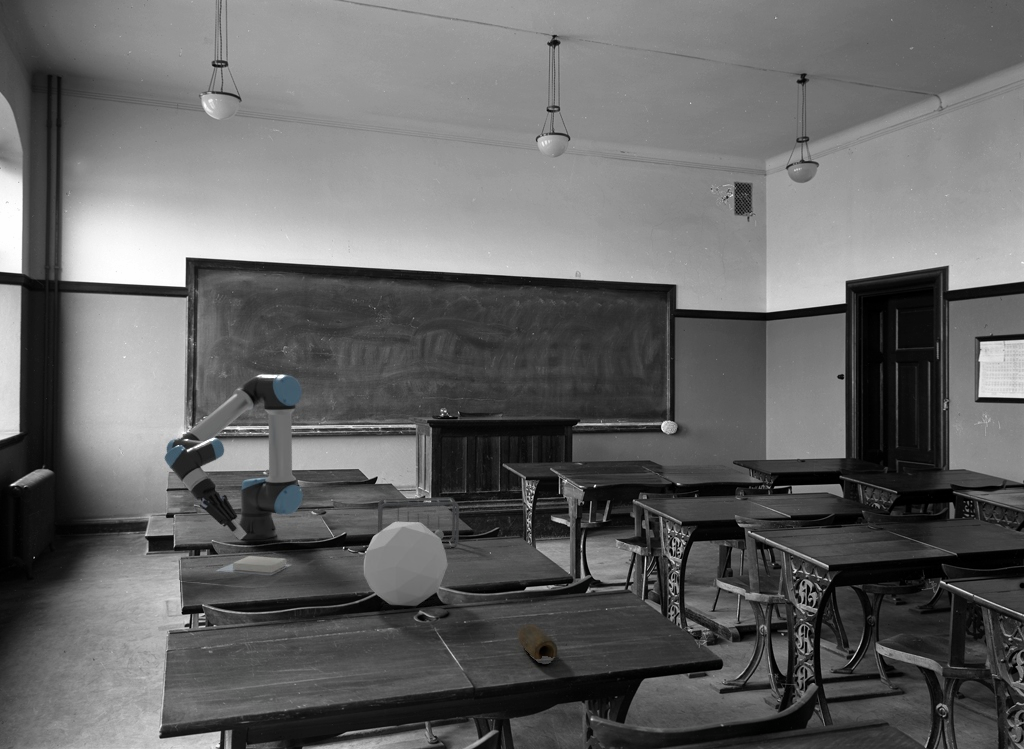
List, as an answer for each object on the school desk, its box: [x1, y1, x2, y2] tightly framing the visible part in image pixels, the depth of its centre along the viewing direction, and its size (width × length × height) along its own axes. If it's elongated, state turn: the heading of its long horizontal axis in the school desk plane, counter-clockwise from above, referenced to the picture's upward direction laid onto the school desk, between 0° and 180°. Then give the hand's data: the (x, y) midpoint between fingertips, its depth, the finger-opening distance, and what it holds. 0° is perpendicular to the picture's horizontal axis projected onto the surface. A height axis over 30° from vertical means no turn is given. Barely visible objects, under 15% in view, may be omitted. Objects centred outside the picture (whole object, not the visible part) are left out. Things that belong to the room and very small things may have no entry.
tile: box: [232, 555, 287, 573], centre depth 268 cm, size 2×10×14 cm
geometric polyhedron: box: [363, 521, 448, 607], centre depth 233 cm, size 24×25×25 cm
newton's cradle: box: [377, 497, 460, 549], centre depth 306 cm, size 30×10×18 cm, turn 102°
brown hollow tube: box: [517, 624, 558, 659], centre depth 193 cm, size 15×7×7 cm, turn 20°
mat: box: [215, 563, 292, 577], centre depth 268 cm, size 20×14×1 cm
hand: (242, 536), depth 269 cm, fingers closed
